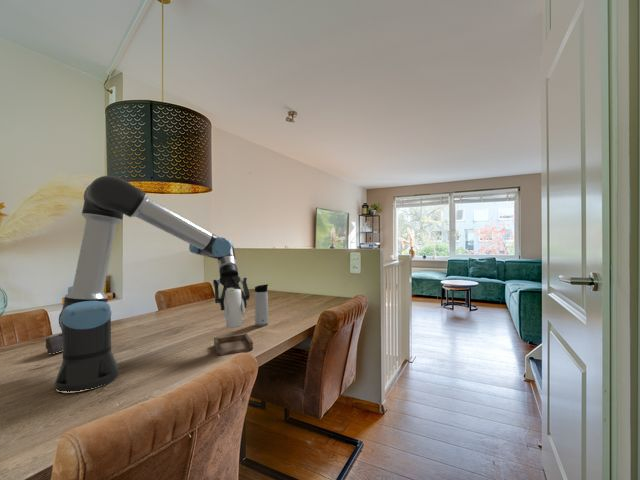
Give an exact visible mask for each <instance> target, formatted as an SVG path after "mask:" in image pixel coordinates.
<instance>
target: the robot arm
mask: <svg viewBox="0 0 640 480" xmlns="http://www.w3.org/2000/svg"><path fill="white" fill-rule="evenodd" d="M83 201H84V202H83V207H82V211H81V216H82V217H83V218H84V219H85V225H84V229H83V235H82V240H81V244H80V249H79V254H78V255H79V256H78V260H77V264H76V270H75V274H74V275H75V276H74V280H73V284H72V288H71V291H70V292H68V293H67V294H64V299H63V305H62V309H61V311H60V312H59V315H58V325H59V327H60V329H61V334H62V344H63V352H62V362H61V366H60V368H59V371H58V373H57V377H56V378H55V382H54V388H56V389H57V390H59V391H67V392H68V391H69V392H70V391H80V390H85V389H91V388H95V387H98V386H101V385H104V384H106V385H108V384H110V383H111V381H112V382H113V381H115V380H116V379H117V378H118V377H117V376H119V366H118V364H117V360H116V359H115V357H114V354H113V352H112V326H111V325H112V322H111V321H112V320H111V318H112V310H111V306H110V304H109V303H108V297H109V296H108V295H107V294H106V293H105V292H104V290H105V287H106V282H107V275H108V270H109V265H110V259H111V255H112V248H113V243H114V240H115V239H114V237H115V234H116V227H117V225H118V224H119V223H122V221H123V218H124V215H125V216H126V217H129V218H133V217H135V218H137V219H140V220H141V221H143V222H146V223H147V224H149V225H151V226H154V227H155V228H157V229H160V230H162V231H164V232H166V233H167V234H169V235H172V236H173V237H176V238H178V239H179V240H182V241H183V242H185V243H188V244H189V246H188V247H189V248H188V249H189V252H190V253H192V254H195V255H199V256H203V257H206V258H212V259H215V260H217V264H218V270H219V271H218V272H219V279H218V280H217V279H213V281H212V285H213V287H214V303H215V304H219V306H220V311H223V312H224V319H225V320H226V319H227V316H228V313H227V306H226V297H225V291H226V290H228V289H241V302H242V317H246V309H247V307H248V306H247V305H248V304H247V303H248V302H247V301H249V300H250V296H251V294H250V290H249V287H248V283H247V279H248V278H247V277H244V278H242V277H240V275H239V269H238V264H237V260H236V253H235V247H234V244H233V242H232V241H231V240H230V239H227V238H226V237H222V236H221V237H220V236H217V235H216V234H214V233H211V232H210V231H208V230H207V229H205V228H203V227H201V226H200V225H198V224H196V223H194V222H193V221H191V220H189V219H187V218H185V217H183V216H182V215H180V214H179V213H176V212H174V211H173V210H171V209H169V208H168V207H166V206H164V205H162V204H161V203H158V202H157V201H154V199H151V198H149V196H148V194H147V193H146V192H145V191H143V190H141V189H140V188H138V187H136V186H135V185H133V184H131V183H130V182H128V181H126V180H125V179H122V178H120V177H118V176H114V175H102V176H100V177H97V178H95V179H94V180H92V182H91V183H90V184H89V185H88V186H87V187H86V189H85V190H84V193H83ZM239 283H241V285H242V288H243V289H242V288H241V287H240V285H239ZM219 285H222V287H223V288H222V292H221V295H219ZM219 296H220V297H219ZM116 377H117V378H116ZM115 378H116V379H115ZM114 379H115V380H114ZM109 382H110V383H109ZM107 383H108V384H107ZM104 386H105V385H104ZM101 387H102V386H101ZM98 388H99V387H98Z"/></svg>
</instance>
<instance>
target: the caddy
mask: <svg viewBox="0 0 640 480" xmlns="http://www.w3.org/2000/svg"><path fill="white" fill-rule="evenodd" d="M213 347H214V350H215V353H216V356H217V357H219V356H224V355H231V354H236V353H242V352H248V351H247V350H249V351H253V350H254V341H253V340H252V339H251V338H250V336H249V335H248V333H240V334H233V335H232V334H231V335H226V336H219V337H214V338H213ZM252 349H253V350H252ZM240 351H241V352H240Z"/></svg>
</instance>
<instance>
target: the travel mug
mask: <svg viewBox="0 0 640 480" xmlns="http://www.w3.org/2000/svg"><path fill="white" fill-rule="evenodd" d="M268 286H269V284H261V285H256V286H254V310H255V311H254V319H255V320H254V321H255V323H254V325H255V326H256V327H266V326H268V325H269V301H268V300H269V297H268V295H269V293H268Z"/></svg>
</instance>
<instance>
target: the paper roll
mask: <svg viewBox="0 0 640 480" xmlns="http://www.w3.org/2000/svg"><path fill="white" fill-rule="evenodd" d="M241 290H242V288H241V289H234V288H229V289H227V290H226V291H225V300H226V306H227V313H228V316H227V319H225V327H226V328H228V329H235V328H240V327H242V326H243V315H242V302H241Z"/></svg>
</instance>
